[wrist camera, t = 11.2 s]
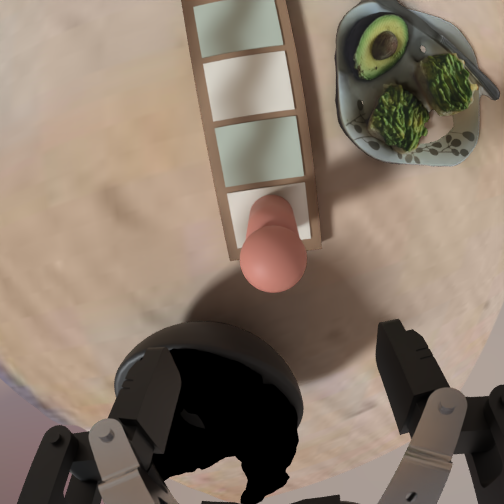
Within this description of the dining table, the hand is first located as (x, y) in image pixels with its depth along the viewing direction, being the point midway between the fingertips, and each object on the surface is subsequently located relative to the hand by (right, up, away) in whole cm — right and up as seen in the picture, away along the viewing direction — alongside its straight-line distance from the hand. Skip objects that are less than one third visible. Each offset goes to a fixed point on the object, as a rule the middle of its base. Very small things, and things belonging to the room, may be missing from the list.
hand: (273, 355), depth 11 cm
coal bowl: (-5, -9, +27) cm, 29 cm away
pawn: (+1, +7, +17) cm, 19 cm away
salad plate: (+14, +21, +13) cm, 28 cm away
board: (0, +16, +15) cm, 22 cm away
